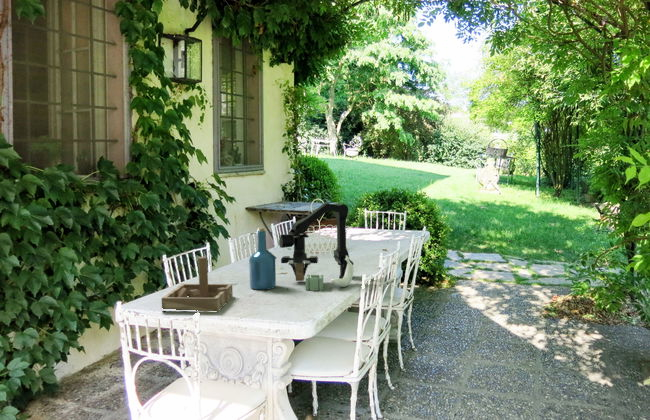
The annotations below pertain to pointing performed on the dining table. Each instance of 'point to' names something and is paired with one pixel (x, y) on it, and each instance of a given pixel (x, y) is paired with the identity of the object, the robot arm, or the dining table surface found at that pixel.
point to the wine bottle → (262, 265)
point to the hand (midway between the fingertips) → (300, 276)
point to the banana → (345, 275)
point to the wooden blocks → (201, 283)
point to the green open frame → (314, 282)
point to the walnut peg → (299, 271)
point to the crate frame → (197, 303)
